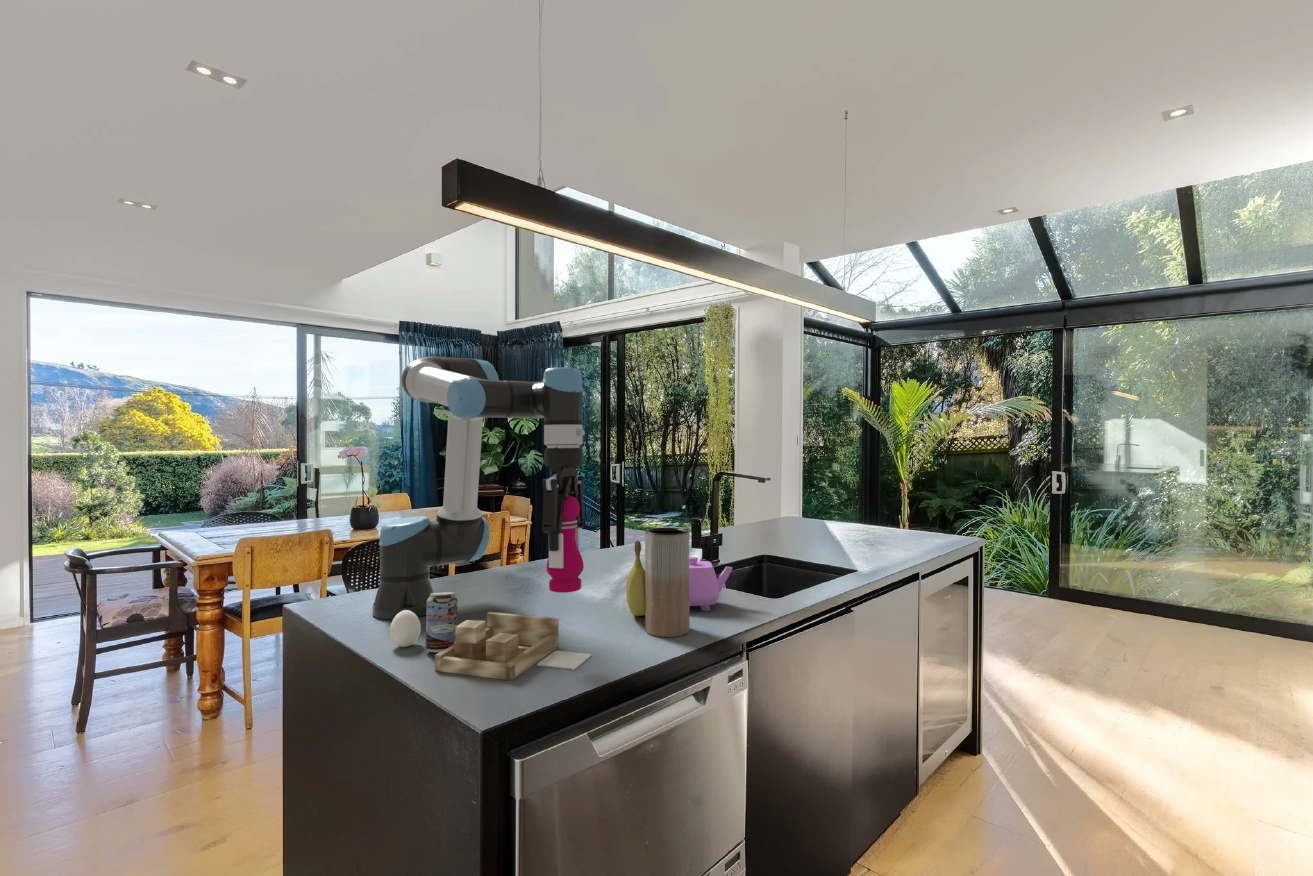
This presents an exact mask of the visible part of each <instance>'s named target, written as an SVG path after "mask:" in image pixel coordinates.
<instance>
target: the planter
mask: <svg viewBox="0 0 1313 876" xmlns="http://www.w3.org/2000/svg"><path fill="white" fill-rule="evenodd" d="M689 557H690V531H689V530H688V529H687V528H683V527H681V528H680V527H653V528H649V529H646V530H645V531H644V570H645V615H644V618H645V623H644V625H645V632H646V633H647V634H648V635H651V636H655V637H659V638H677V637H680V636H683V635H686V634H688V633H689V632H690V619H691V618H690V617H691V616H690V607H691V606H690V602H689Z"/></svg>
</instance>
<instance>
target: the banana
mask: <svg viewBox="0 0 1313 876" xmlns="http://www.w3.org/2000/svg"><path fill="white" fill-rule="evenodd" d="M641 551H642V544H641V542H640V541H639V540H636V541H635V542H634V553H635V559H634V564H633V566H632V568H631V569H630V571H629V574H628V576H627V580H626V592H625V595H626V603H627V606H628V608H629V611H630V613H631V615H632V616H635V617H636V616H637V617H638V616H639V617H640V616H645V567H643V565H642V562H641Z"/></svg>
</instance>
